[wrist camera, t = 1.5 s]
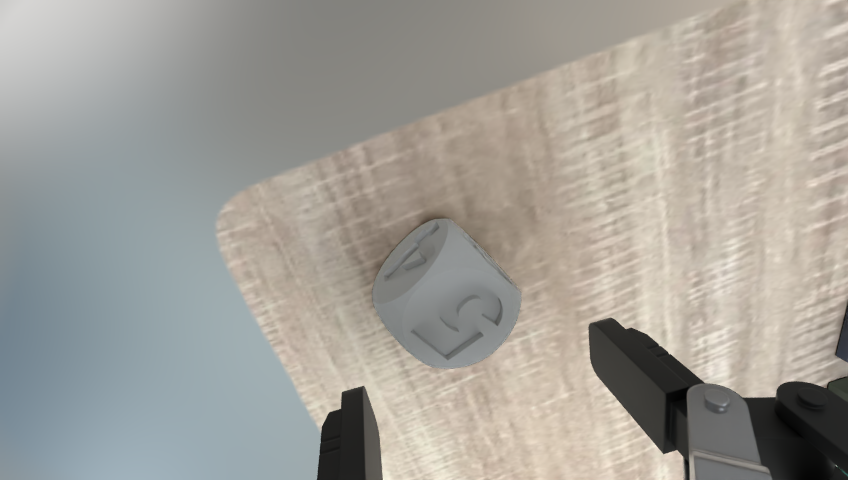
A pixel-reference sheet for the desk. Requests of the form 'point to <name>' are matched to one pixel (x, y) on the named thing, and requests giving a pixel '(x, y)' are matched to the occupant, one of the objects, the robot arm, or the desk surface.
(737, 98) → the desk surface
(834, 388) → the row of mixed cubes
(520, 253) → the desk surface
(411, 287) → the die
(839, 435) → the robot arm
